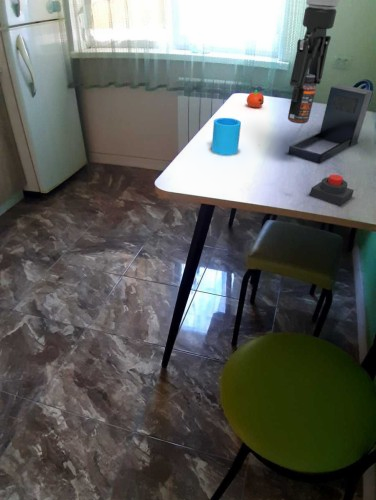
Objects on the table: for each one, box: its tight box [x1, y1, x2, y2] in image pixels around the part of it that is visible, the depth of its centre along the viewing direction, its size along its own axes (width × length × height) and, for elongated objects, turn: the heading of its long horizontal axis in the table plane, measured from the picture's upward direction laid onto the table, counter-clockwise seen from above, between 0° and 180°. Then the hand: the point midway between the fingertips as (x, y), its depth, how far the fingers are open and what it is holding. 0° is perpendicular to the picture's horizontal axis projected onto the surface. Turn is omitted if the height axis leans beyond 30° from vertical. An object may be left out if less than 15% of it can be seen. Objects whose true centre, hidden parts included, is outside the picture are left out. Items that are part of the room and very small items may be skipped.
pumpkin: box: [246, 89, 265, 108], centre depth 170 cm, size 7×8×6 cm
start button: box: [327, 174, 344, 186], centre depth 108 cm, size 4×4×2 cm
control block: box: [309, 176, 355, 207], centre depth 110 cm, size 9×7×4 cm
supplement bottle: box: [287, 73, 317, 125], centre depth 113 cm, size 6×6×11 cm
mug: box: [211, 117, 242, 156], centre depth 132 cm, size 13×9×9 cm
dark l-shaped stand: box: [287, 84, 374, 164], centre depth 134 cm, size 12×28×16 cm, turn 140°
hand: (299, 111), depth 115 cm, fingers closed on supplement bottle, 6 cm apart
